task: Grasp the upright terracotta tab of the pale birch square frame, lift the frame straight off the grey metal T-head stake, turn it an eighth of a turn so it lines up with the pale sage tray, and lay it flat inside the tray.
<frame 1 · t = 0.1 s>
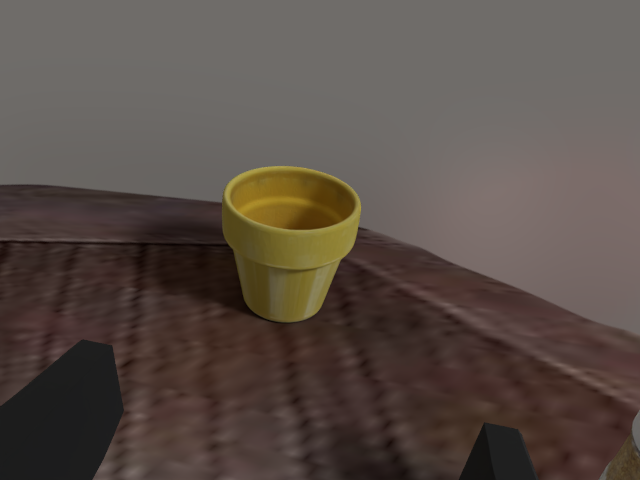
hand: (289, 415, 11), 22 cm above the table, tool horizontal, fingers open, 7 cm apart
plant pot: (282, 298, 48), on the table
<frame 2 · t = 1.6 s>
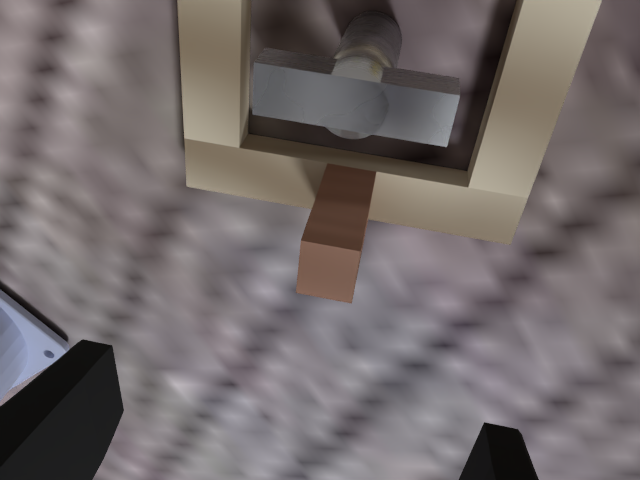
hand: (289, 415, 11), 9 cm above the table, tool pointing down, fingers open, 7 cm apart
T-head stake: (372, 40, 16), on the table
birch frame: (372, 40, 16), on the table
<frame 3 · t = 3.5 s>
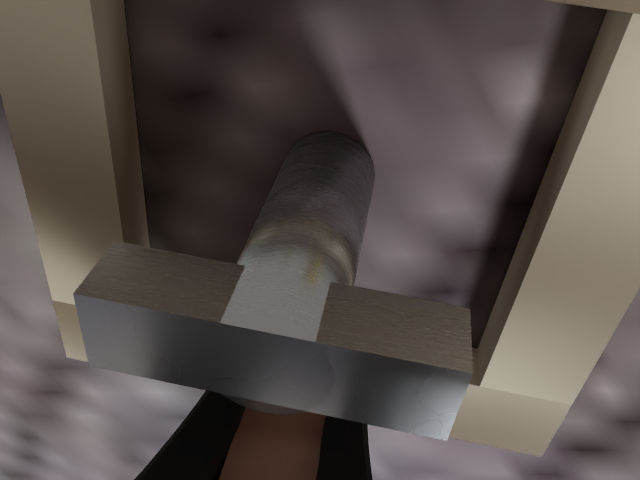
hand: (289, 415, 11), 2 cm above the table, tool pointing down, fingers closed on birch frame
T-head stake: (329, 173, 10), on the table
birch frame: (329, 173, 10), on the table, touching gripper
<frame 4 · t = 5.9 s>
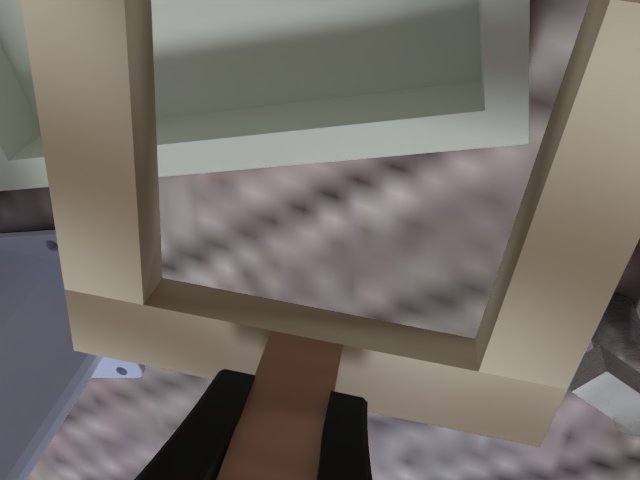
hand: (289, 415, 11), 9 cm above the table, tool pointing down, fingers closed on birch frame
T-head stake: (609, 311, 20), on the table
birch frame: (335, 161, 11), point 7 cm above the table, tilted 5°, touching gripper
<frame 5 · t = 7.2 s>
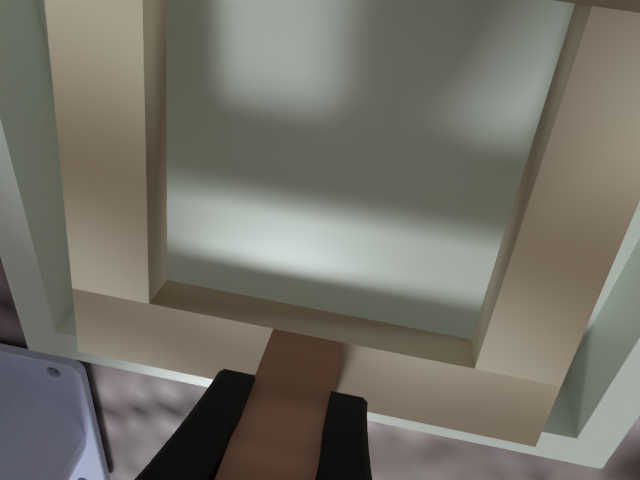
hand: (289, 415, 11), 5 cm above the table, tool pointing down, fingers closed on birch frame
sage tray: (353, 96, 13), on the table
birch frame: (336, 163, 11), point 2 cm above the table, tilted 9°, touching gripper
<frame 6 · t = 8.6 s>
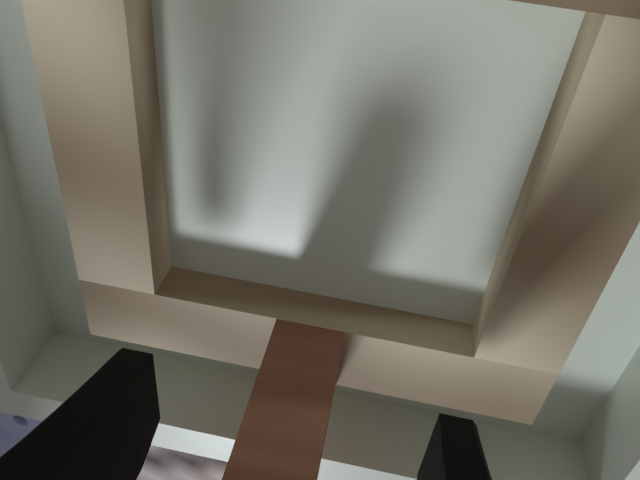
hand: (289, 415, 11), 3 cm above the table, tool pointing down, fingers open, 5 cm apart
sage tray: (341, 135, 11), on the table
birch frame: (336, 160, 11), resting on sage tray
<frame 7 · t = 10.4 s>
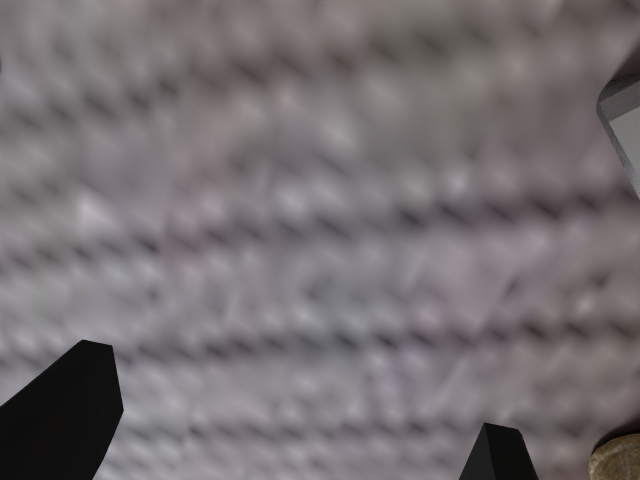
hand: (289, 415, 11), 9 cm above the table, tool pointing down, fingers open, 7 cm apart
T-head stake: (628, 103, 16), on the table
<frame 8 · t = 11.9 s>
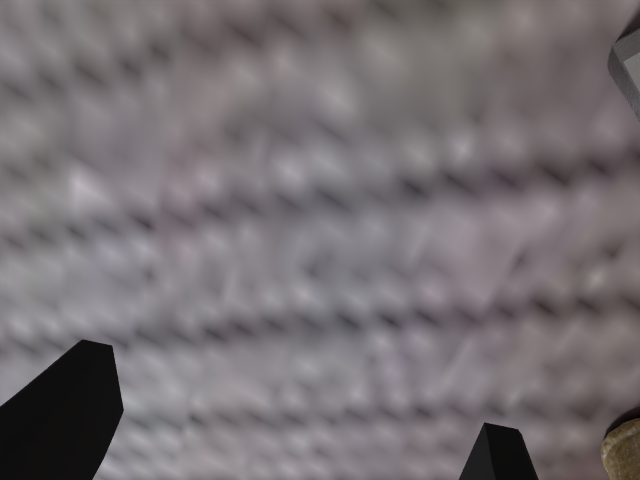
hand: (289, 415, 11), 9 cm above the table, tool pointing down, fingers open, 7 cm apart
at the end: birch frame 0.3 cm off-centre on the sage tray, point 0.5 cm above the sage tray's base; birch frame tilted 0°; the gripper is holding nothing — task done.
